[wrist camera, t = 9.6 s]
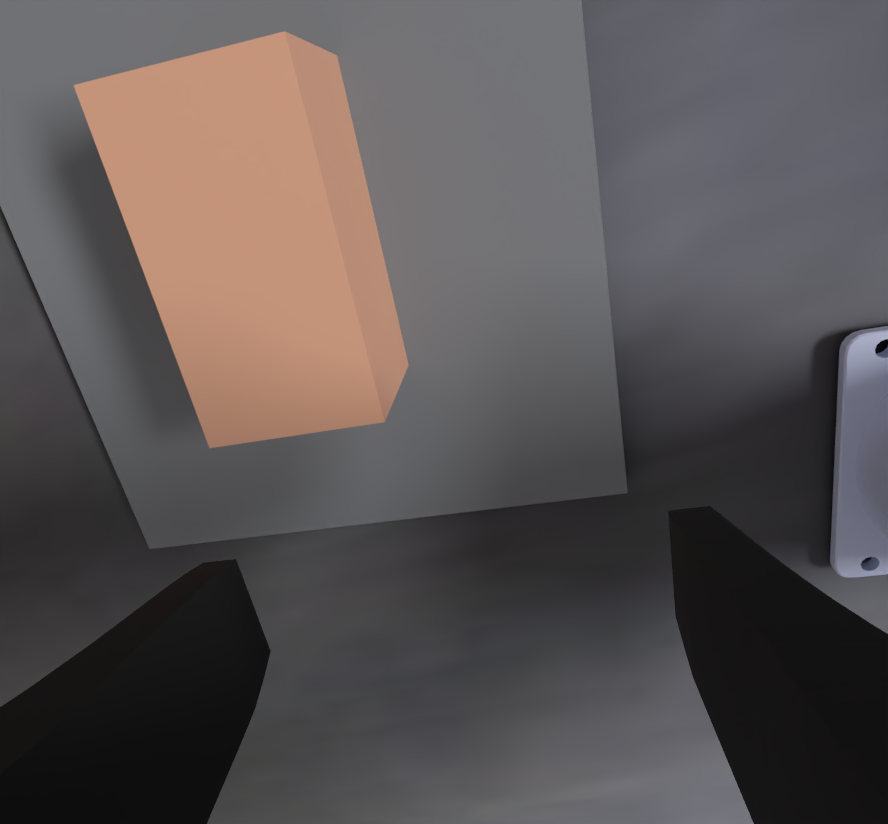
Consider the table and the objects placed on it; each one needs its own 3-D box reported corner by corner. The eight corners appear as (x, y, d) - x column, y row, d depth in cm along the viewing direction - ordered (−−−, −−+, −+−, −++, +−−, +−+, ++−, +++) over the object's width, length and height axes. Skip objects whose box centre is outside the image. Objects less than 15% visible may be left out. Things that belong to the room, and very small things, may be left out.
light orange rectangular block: (408, 365, 18) (384, 421, 15) (266, 388, 19) (209, 448, 16) (337, 55, 16) (284, 30, 12) (170, 96, 16) (73, 84, 13)
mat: (552, -270, 13) (554, -287, 13) (624, 483, 20) (627, 493, 20) (-103, -72, 16) (-125, -80, 15) (158, 538, 23) (149, 549, 22)
